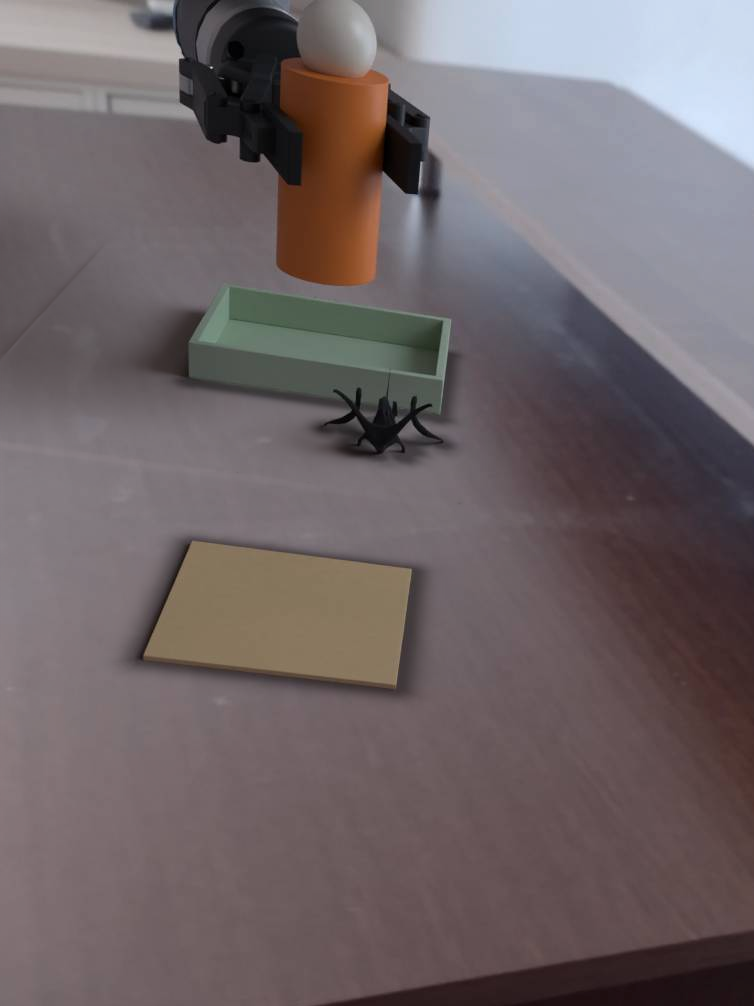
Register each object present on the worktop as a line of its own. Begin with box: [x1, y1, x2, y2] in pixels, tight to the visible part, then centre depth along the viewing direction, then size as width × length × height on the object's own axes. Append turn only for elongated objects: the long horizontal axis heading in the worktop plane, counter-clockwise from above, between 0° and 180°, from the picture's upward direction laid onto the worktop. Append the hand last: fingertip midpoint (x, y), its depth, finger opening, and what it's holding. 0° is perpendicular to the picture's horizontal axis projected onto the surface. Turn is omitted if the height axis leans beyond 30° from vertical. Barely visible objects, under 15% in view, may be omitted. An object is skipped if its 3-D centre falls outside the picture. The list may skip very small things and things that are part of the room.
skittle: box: [275, 0, 390, 287], centre depth 77 cm, size 6×6×15 cm
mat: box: [142, 540, 413, 690], centre depth 69 cm, size 12×12×1 cm
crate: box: [187, 283, 452, 415], centre depth 95 cm, size 17×13×3 cm
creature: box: [324, 368, 444, 455], centre depth 86 cm, size 8×5×8 cm
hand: (355, 163), depth 74 cm, fingers closed on skittle, 6 cm apart
